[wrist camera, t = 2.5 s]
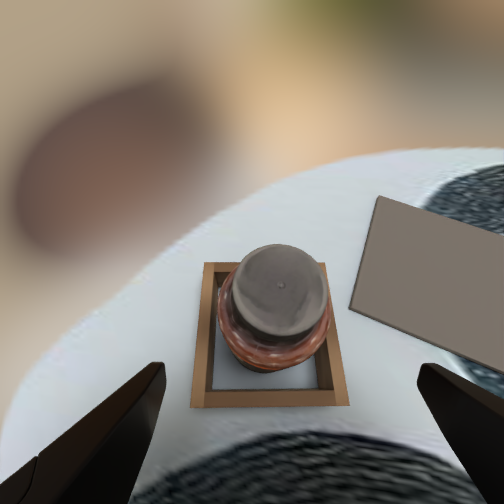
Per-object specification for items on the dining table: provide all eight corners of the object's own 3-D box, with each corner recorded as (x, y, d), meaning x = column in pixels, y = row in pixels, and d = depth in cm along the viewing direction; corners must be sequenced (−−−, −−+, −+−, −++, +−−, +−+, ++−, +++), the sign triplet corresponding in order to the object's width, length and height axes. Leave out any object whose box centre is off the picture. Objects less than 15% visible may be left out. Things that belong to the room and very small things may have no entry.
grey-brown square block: (527, 384, 18) (534, 384, 18) (349, 308, 20) (351, 307, 20) (512, 243, 24) (517, 240, 24) (377, 198, 27) (379, 195, 26)
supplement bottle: (304, 307, 20) (359, 239, 11) (294, 382, 18) (356, 388, 8) (238, 291, 21) (231, 213, 11) (218, 362, 18) (186, 343, 8)
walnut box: (331, 400, 17) (349, 405, 14) (200, 402, 17) (190, 407, 14) (313, 279, 22) (324, 262, 19) (210, 279, 22) (204, 262, 18)
